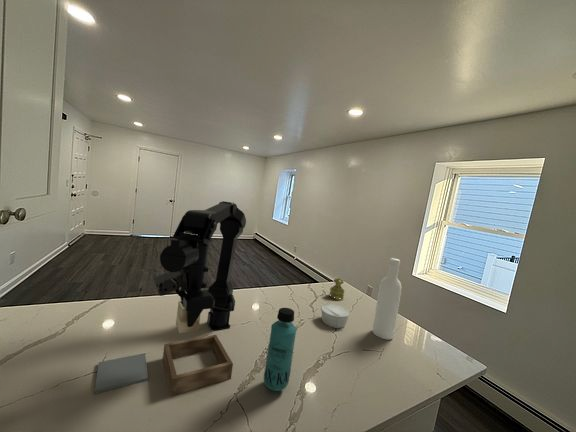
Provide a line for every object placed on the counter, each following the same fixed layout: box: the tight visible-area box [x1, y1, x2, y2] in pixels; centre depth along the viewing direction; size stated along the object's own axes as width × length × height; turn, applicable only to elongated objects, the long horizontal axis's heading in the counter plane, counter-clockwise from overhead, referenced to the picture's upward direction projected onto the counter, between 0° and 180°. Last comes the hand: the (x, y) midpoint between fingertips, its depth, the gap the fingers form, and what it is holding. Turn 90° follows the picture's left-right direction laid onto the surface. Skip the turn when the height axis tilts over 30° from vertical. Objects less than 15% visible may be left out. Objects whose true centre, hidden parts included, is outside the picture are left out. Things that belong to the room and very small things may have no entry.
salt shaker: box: [329, 278, 346, 301], centre depth 130 cm, size 7×7×10 cm
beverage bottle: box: [263, 307, 297, 392], centre depth 62 cm, size 6×7×20 cm
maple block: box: [175, 300, 201, 334], centre depth 63 cm, size 4×4×6 cm
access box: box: [162, 334, 234, 397], centre depth 65 cm, size 14×14×4 cm
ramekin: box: [321, 303, 350, 329], centre depth 102 cm, size 11×11×5 cm
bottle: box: [372, 257, 403, 341], centre depth 97 cm, size 8×8×30 cm
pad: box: [94, 352, 149, 394], centre depth 60 cm, size 10×10×1 cm
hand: (187, 321), depth 63 cm, fingers closed on maple block, 4 cm apart
